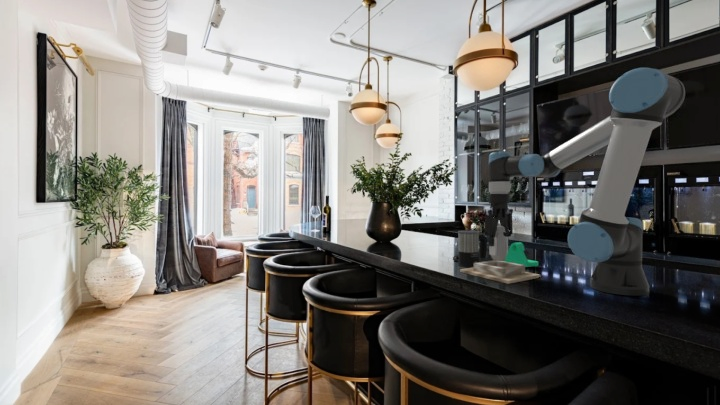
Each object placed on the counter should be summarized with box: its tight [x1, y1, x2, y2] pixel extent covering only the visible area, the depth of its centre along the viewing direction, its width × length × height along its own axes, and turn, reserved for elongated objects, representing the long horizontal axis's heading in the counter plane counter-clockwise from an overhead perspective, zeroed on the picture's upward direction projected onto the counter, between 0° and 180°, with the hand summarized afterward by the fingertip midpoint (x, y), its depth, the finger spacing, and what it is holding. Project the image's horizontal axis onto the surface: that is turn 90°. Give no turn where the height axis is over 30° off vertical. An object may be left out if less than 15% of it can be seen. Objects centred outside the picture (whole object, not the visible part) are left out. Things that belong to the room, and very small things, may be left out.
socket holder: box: [459, 259, 541, 285], centre depth 134 cm, size 22×18×4 cm
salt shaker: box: [490, 225, 507, 261], centre depth 134 cm, size 6×6×13 cm
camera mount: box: [504, 242, 539, 268], centre depth 151 cm, size 12×8×10 cm, turn 23°
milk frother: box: [452, 230, 488, 268], centre depth 157 cm, size 14×16×15 cm
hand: (498, 253), depth 134 cm, fingers closed on salt shaker, 6 cm apart
